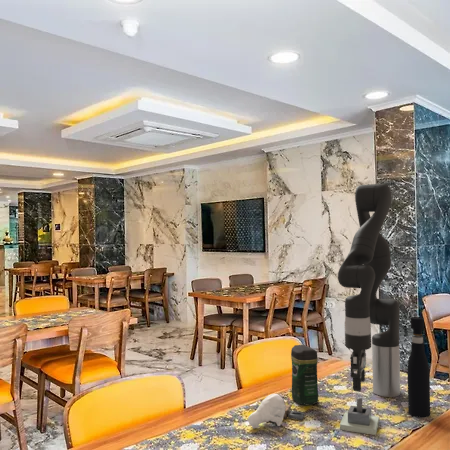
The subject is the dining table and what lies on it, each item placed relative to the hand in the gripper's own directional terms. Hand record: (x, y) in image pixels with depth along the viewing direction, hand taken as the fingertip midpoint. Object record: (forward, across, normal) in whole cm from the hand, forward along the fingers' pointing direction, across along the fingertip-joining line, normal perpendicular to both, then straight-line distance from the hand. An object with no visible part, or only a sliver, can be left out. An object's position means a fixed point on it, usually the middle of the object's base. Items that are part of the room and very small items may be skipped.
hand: (359, 385), depth 138 cm
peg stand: (+12, 0, 0) cm, 12 cm away
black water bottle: (+12, +16, -16) cm, 25 cm away
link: (+10, -1, 0) cm, 10 cm away
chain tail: (+12, -2, +21) cm, 24 cm away
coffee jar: (+12, +13, +20) cm, 27 cm away
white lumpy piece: (+12, -11, +26) cm, 30 cm away
